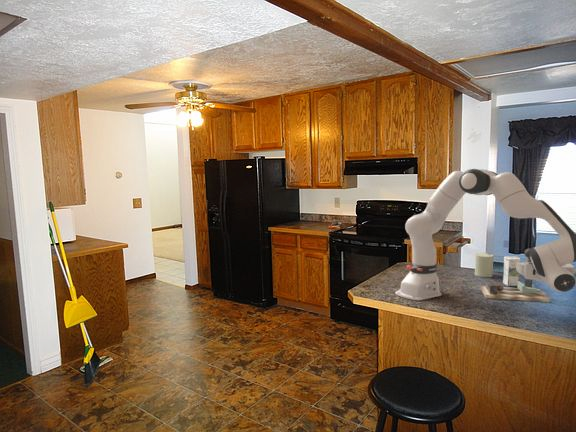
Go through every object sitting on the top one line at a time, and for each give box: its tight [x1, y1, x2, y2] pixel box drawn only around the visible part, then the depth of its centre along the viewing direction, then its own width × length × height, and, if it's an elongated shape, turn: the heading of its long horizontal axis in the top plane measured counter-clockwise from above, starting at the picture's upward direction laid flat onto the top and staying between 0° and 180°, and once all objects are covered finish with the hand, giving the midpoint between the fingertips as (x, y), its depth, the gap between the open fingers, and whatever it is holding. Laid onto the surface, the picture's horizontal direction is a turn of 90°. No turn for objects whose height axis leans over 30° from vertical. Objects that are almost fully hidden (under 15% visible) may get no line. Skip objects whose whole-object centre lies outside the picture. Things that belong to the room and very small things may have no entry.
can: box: [474, 252, 494, 278], centre depth 220 cm, size 9×9×12 cm
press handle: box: [516, 248, 538, 293], centre depth 182 cm, size 6×8×20 cm
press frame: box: [480, 279, 551, 303], centre depth 185 cm, size 26×14×6 cm, turn 73°
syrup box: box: [502, 255, 521, 287], centre depth 200 cm, size 6×6×14 cm
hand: (538, 264), depth 170 cm, fingers open, 8 cm apart
